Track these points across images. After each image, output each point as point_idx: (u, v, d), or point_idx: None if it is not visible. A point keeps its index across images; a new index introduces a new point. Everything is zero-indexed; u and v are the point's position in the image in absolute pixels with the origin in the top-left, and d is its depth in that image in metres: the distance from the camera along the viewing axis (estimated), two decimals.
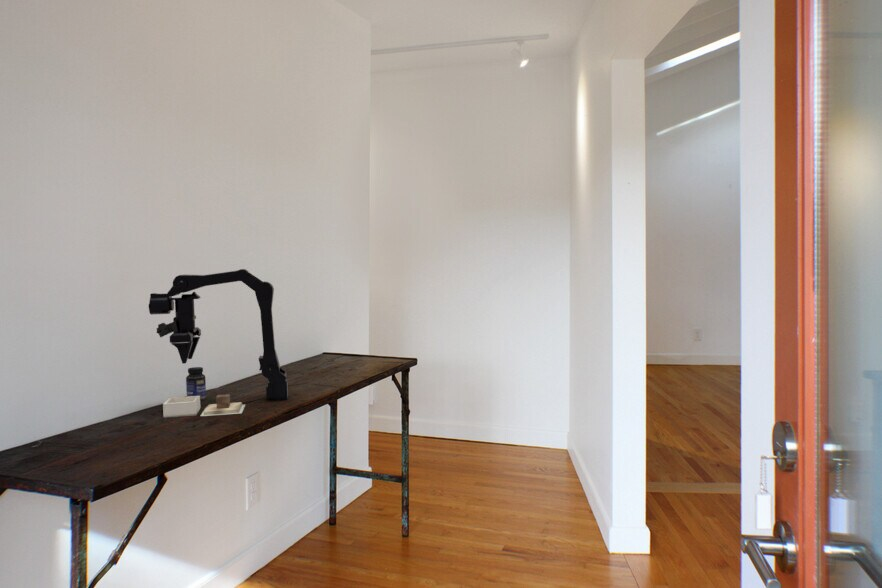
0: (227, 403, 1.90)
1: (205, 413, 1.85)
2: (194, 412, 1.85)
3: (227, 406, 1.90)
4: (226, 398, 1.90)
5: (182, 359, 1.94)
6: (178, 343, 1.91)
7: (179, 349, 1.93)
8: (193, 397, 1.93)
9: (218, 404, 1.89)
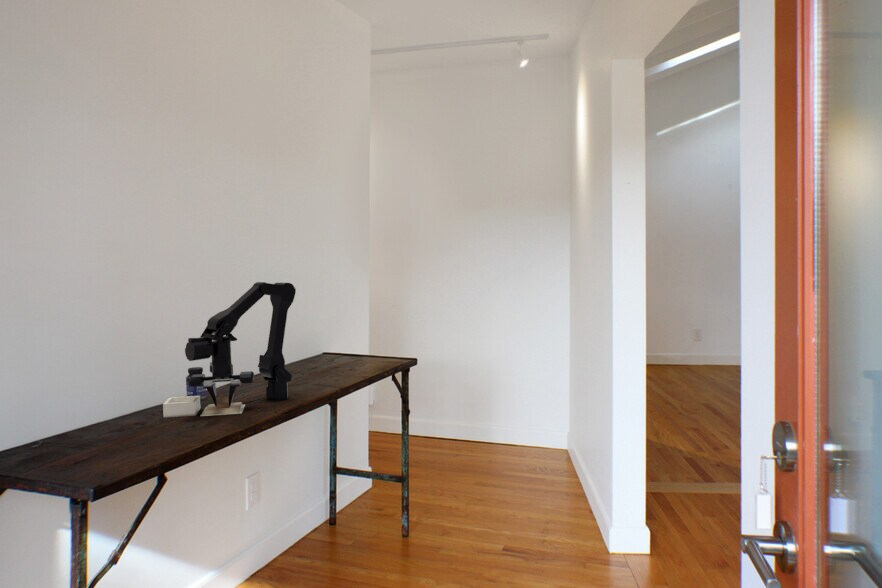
0: (227, 403, 1.90)
1: (205, 413, 1.85)
2: (194, 412, 1.85)
3: (227, 406, 1.90)
4: (226, 398, 1.90)
5: None
6: None
7: None
8: (193, 397, 1.93)
9: (218, 404, 1.89)
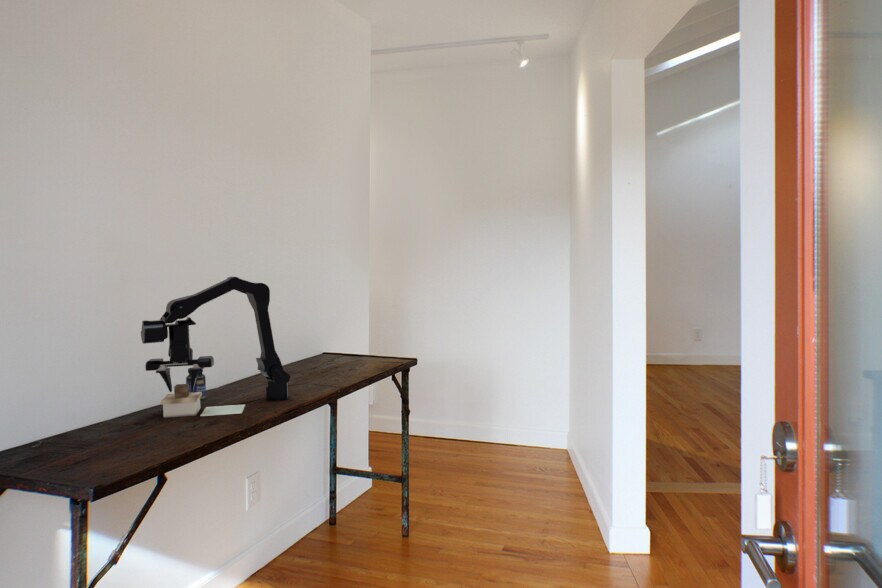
0: (185, 393, 1.87)
1: (162, 402, 1.83)
2: (194, 412, 1.85)
3: (185, 396, 1.87)
4: (184, 387, 1.87)
5: None
6: None
7: None
8: None
9: (176, 393, 1.86)
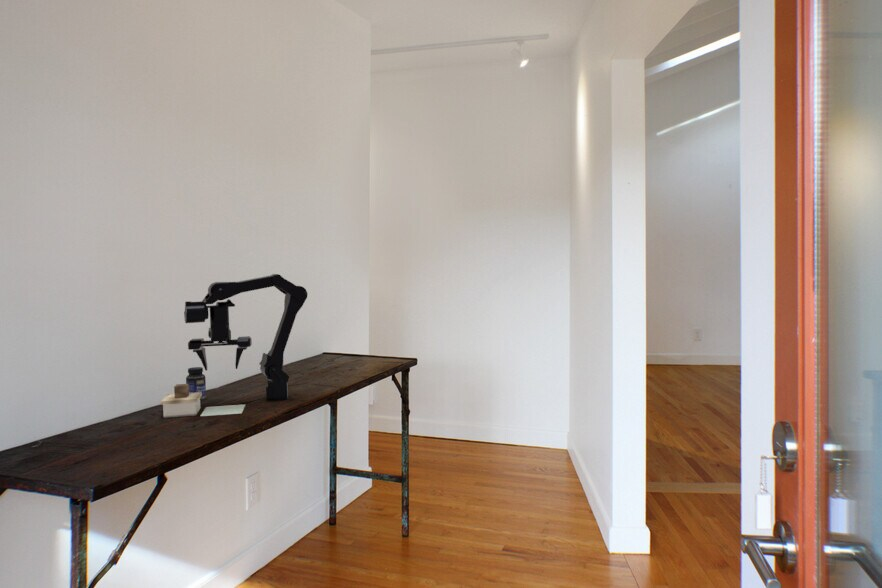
0: (185, 393, 1.87)
1: (162, 402, 1.83)
2: (194, 412, 1.85)
3: (185, 396, 1.87)
4: (184, 387, 1.87)
5: None
6: None
7: None
8: None
9: (176, 393, 1.86)
